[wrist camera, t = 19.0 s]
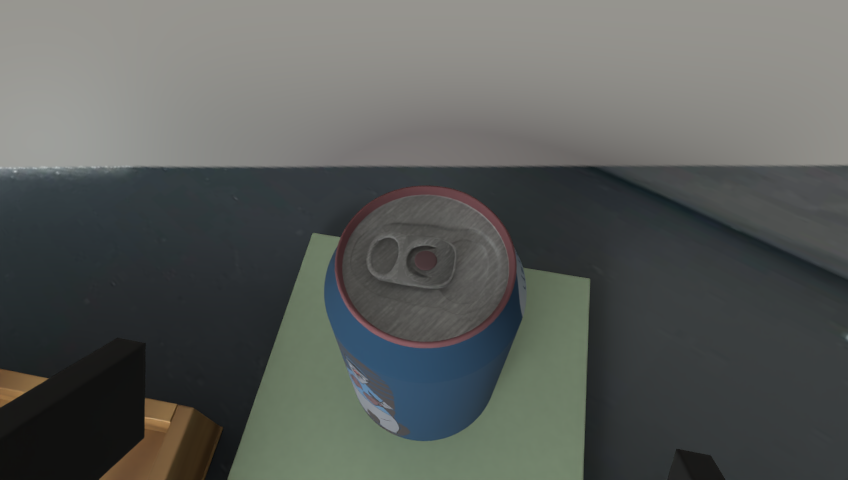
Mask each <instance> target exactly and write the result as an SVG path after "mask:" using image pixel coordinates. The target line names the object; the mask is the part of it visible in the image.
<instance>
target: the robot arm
mask: <svg viewBox="0 0 848 480" xmlns="http://www.w3.org/2000/svg"><path fill="white" fill-rule="evenodd" d="M145 349H146V343H142V342H137V341H132V340H127V339H122V338H116V339H115V340H113V341H111V342H110V343H108V344H106V345H105V346H103V347H101V348H100V349H98V350H96V351H94V352H93V353H91V354H89V355H88V356H86V357H84V358H83V359H81V360H79V361H78V362H76V363H74V364H73V365H71V366H69V367H68V368H66V369H64V370H63V371H61V372H59V373H58V374H56V375H54V376H52V377H51V378H49V379H47V380H46V381H44V382H42V383H41V384H39V385H37V386H36V387H34V388H32V389H31V390H29V391H27V392H26V393H24V394H22V395H21V396H19V397H17V398H16V399H14V400H12V401H10V402H9V403H7V404H5V405H4V406H2V407H0V480H99V479H100V478H101V477H102V476H103V475H104V474H105V473H107V472H108V471H109V470H110V469H111V468H112V467H113V466H114V465H115V464H116V463H117V462H119V461H120V460H121V459H122V458H123V457H124V456H125V455H126V454H127V453H128V452H129V451H130V450H132V449H133V448H134V447H135V446H136V445H137V444H138V443H139V442H140V441H141V440H142V439H143V438H144V433H145ZM667 480H725V478H724V477H723V475H722V473H721V472H720V470H719V468H718V467H717V465H716V463H715V462H714V460H713V458H712V457H711V456H710V455H705V454H700V453H695V452H690V451H685V450H680V449H676V452H675V455H674V459H673V462H672V466H671V469H670V472H669V476H668V479H667Z"/></svg>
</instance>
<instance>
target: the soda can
mask: <svg viewBox="0 0 848 480" xmlns="http://www.w3.org/2000/svg"><path fill="white" fill-rule="evenodd" d="M526 296H527V289H526V279H525V274H524V270H523V266H522V263H521V261H520V258H519V256H518V254H517V252H516V250H515V249H514V245H513V242H512V240H511V237H510V235H509V233H508V231H507V229H506V228H505V226H504V225H503V223H502V222H501V221H500V219H499V218H498V217H497V216H496V215H495V214H494V213H493V212H492V211H491V210H490V209H489V208H488V207H487V206H486V205H484V204H483V203H482V202H480V201H479V200H477V199H476V198H474V197H472V196H470V195H468V194H466V193H464V192H461V191H458V190H455V189H451V188H446V187H440V186H412V187H406V188H401V189H398V190H394V191H391V192H389V193H386V194H384V195H382V196H380V197H378V198H376V199H374V200H373V201H371V202H370V203H368V204H367V205H366V206H364V207H363V208H362V209H361V210H360V211H359V212H358V213H357V214H356V215H355V216H354V217H353V218H352V219H351V221H350V222H349V223H348V225H347V226H346V228H345V230H344V231H343V233H342V235H341V238H340V240H339V243H338V246H337V248H336V249H335V251H334V253H333V255H332V257H331V260H330V262H329V265H328V268H327V272H326V277H325V284H324V300H325V307H326V312H327V315H328V318H329V321H330V324H331V327H332V329H333V332H334V335H335V338H336V340H337V343H338V346H339V349H340V351H341V354H342V357H343V360H344V362H345V365H346V368H347V371H348V373H349V376H350V379H351V382H352V384H353V387H354V390H355V393H356V395H357V398H358V400H359V402H360V404H361V406H362V407H363V409H364V410H365V412H366V413H367V414H368V415H369V417H370V418H371V419H372V420H373V421H374V422H375V423H377V424H378V425H379V426H380V427H382V428H383V429H385V430H386V431H388V432H390V433H392V434H394V435H396V436H399V437H402V438H405V439H409V440H415V441H434V440H439V439H444V438H447V437H450V436H452V435H455V434H457V433H459V432H460V431H462V430H464V429H465V428H467V427H468V426H469V425H471V424H472V423H473V422H474V421H475V420H476V419H477V418H478V417H479V416H480V415H481V413H482V412H483V411H484V409H485V408H486V406H487V404H488V403H489V401H490V398H491V396H492V393H493V391H494V389H495V386H496V384H497V381H498V379H499V376H500V374H501V371H502V369H503V366H504V364H505V361H506V359H507V356H508V354H509V351H510V349H511V346H512V344H513V341H514V339H515V336H516V334H517V331H518V329H519V326H520V324H521V321H522V318H523V315H524V311H525V306H526Z"/></svg>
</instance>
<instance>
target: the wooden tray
mask: <svg viewBox="0 0 848 480" xmlns="http://www.w3.org/2000/svg"><path fill="white" fill-rule="evenodd" d="M47 379H49V378H44V377H39V376H34V375H30V374H25V373H20V372H15V371H10V370H5V369H0V407H2V406H4V405H5V404H7V403H9V402H10V401H12V400H14V399H16V398H17V397H19V396H21V395H22V394H24V393H26V392H27V391H29V390H31V389H32V388H34V387H36V386H37V385H39V384H41V383H42V382H44V381H46V380H47ZM222 430H223V427H220V426H219V425H217V424H216V423H215V422H213V421H212V420H210V419H209V418H208V417H206V416H205V415H203V414H202V413H200V412H199V411H198V410H196V409H195V408H193V407H188V406H183V405H177V404H174V403H169V402H164V401H159V400H154V399H149V398H145V433H144V438H143V439H142V440H141V441H140V442H139V443H138V444H137V445H136V446H135V447H134V448H133V449H132V450H130V451H129V452H128V453H127V454H126V455H125V456H124V457H123V458H122V459H121V460H120V461H119V462H117V463H116V464H115V465H114V466H113V467H112V468H111V469H110V470H109V471H108V472H107V473H105V474H104V475H103V476H102V477H101V478H100V479H99V480H204V479H205V477H206V474H207V471H208V468H209V466H210V463H211V460H212V458H213V455H214V452H215V449H216V447H217V444H218V441H219V438H220V436H221V433H222Z"/></svg>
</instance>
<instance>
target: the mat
mask: <svg viewBox="0 0 848 480" xmlns="http://www.w3.org/2000/svg"><path fill="white" fill-rule="evenodd" d="M340 238H341V237H335V236H329V235H323V234H317V233H312V236H311V239H310V242H309V245H308V248H307V251H306V254H305V256H304V259H303V262H302V265H301V268H300V271H299V274H298V277H297V280H296V282H295V285H294V288H293V291H292V294H291V297H290V300H289V303H288V306H287V308H286V311H285V314H284V317H283V320H282V323H281V326H280V329H279V332H278V334H277V337H276V340H275V343H274V346H273V349H272V352H271V355H270V358H269V361H268V363H267V366H266V369H265V372H264V375H263V378H262V381H261V384H260V387H259V389H258V392H257V395H256V398H255V401H254V404H253V407H252V410H251V413H250V415H249V418H248V421H247V424H246V427H245V430H244V433H243V436H242V439H241V441H240V444H239V447H238V450H237V453H236V456H235V459H234V462H233V465H232V467H231V470H230V473H229V476H228V479H227V480H583V472H584V443H585V414H586V385H587V356H588V328H589V299H590V279H588V278H582V277H576V276H570V275H564V274H558V273H552V272H546V271H540V270H534V269H528V268H523V270H524V274H525V279H526V289H527V296H526V306H525V311H524V315H523V318H522V321H521V324H520V326H519V329H518V331H517V334H516V336H515V339H514V341H513V344H512V346H511V349H510V351H509V354H508V356H507V359H506V361H505V364H504V366H503V369H502V371H501V374H500V376H499V379H498V381H497V384H496V386H495V389H494V391H493V393H492V396H491V398H490V401H489V403H488V404H487V406H486V408H485V409H484V411H483V412H482V413H481V415H480V416H479V417H478V418H477V419H476V420H475V421H474V422H473V423H472V424H471V425H469V426H468V427H467V428H465V429H464V430H462V431H460V432H459V433H457V434H455V435H452V436H450V437H447V438H444V439H439V440H434V441H415V440H409V439H405V438H402V437H399V436H396V435H394V434H392V433H390V432H388V431H386V430H385V429H383V428H382V427H380V426H379V425H378V424H377V423H375V422H374V421H373V420H372V419H371V418H370V417H369V415H368V414H367V413H366V412H365V410H364V409H363V407H362V406H361V404H360V402H359V400H358V398H357V395H356V393H355V390H354V387H353V384H352V382H351V379H350V376H349V373H348V371H347V368H346V365H345V362H344V360H343V357H342V354H341V351H340V349H339V346H338V343H337V340H336V338H335V335H334V332H333V329H332V327H331V324H330V321H329V318H328V315H327V312H326V307H325V300H324V284H325V277H326V272H327V268H328V265H329V262H330V260H331V257H332V255H333V253H334V251H335V249H336V248H337V246H338V243H339V240H340Z"/></svg>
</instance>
